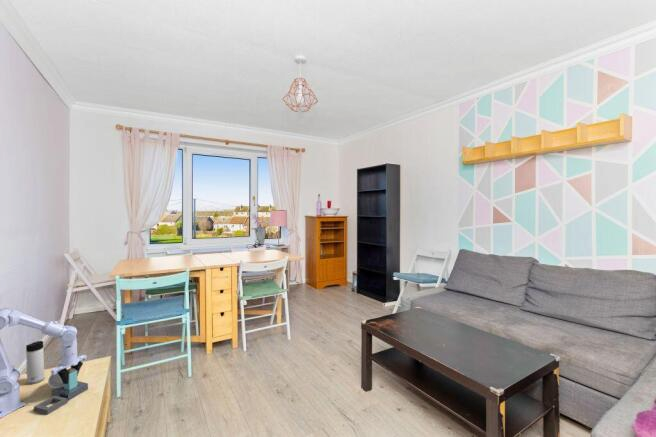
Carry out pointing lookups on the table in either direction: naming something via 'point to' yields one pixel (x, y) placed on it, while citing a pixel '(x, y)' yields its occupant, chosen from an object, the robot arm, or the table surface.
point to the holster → (47, 410)
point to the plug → (71, 380)
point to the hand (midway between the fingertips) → (70, 380)
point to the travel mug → (35, 362)
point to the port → (70, 391)
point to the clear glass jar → (55, 381)
